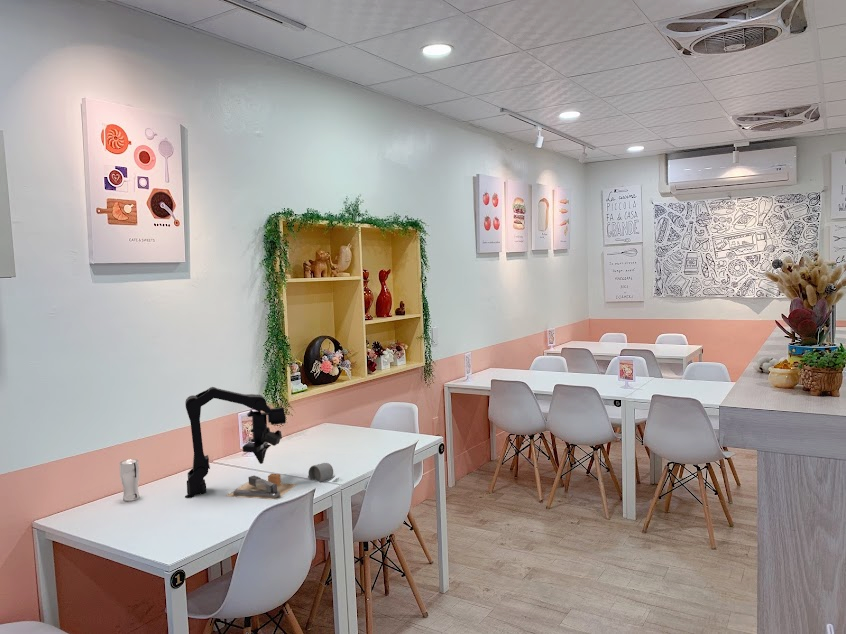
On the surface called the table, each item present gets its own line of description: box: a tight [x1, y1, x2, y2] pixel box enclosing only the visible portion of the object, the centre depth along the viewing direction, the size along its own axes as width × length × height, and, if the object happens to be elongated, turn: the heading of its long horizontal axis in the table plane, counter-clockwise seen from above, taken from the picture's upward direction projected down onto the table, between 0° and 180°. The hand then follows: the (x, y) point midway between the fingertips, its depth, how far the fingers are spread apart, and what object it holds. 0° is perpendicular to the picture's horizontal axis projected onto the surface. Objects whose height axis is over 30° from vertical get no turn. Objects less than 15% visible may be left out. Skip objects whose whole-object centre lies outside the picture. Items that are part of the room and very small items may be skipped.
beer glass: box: [119, 458, 140, 503], centre depth 256 cm, size 7×7×15 cm
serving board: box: [226, 481, 298, 501], centre depth 259 cm, size 22×18×1 cm
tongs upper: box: [248, 475, 274, 492], centre depth 257 cm, size 16×3×3 cm, turn 45°
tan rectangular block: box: [267, 473, 282, 486], centre depth 265 cm, size 4×3×4 cm
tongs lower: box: [232, 484, 281, 500], centre depth 252 cm, size 19×4×5 cm, turn 75°
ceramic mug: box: [307, 462, 334, 483], centre depth 272 cm, size 11×8×8 cm
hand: (261, 463), depth 267 cm, fingers closed
